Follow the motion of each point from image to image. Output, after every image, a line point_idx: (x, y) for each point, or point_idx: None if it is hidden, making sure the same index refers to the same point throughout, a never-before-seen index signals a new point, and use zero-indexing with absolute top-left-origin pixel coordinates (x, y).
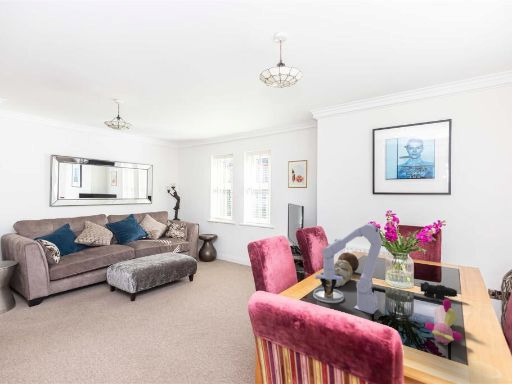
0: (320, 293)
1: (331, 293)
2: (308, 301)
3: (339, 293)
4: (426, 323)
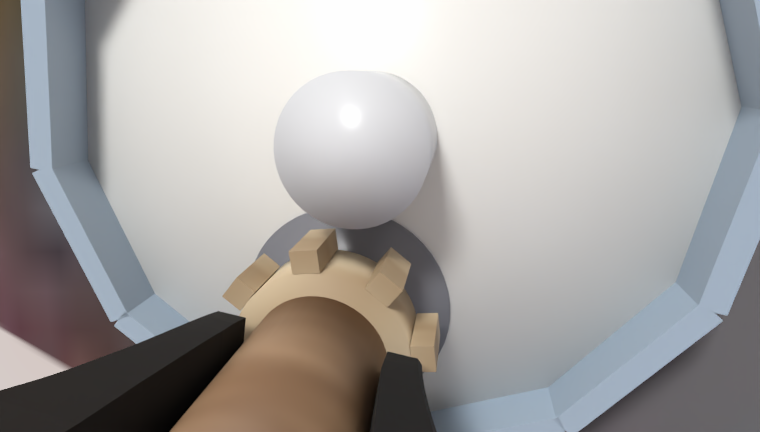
0: (206, 40)
1: (398, 341)
2: (23, 338)
3: (723, 12)
4: None
